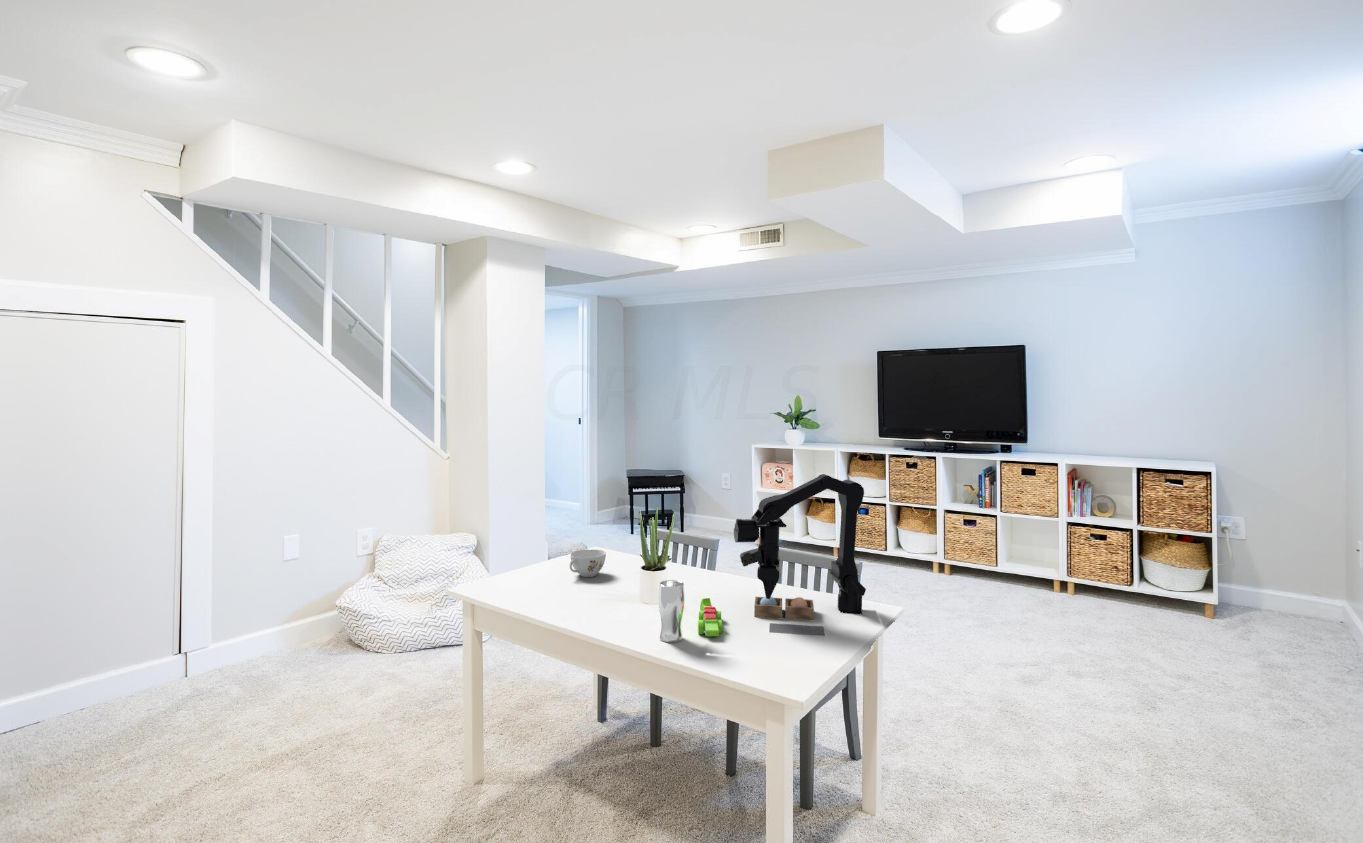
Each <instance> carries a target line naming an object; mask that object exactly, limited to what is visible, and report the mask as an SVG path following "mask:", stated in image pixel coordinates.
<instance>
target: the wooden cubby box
mask: <svg viewBox="0 0 1363 843" xmlns="http://www.w3.org/2000/svg"><path fill="white" fill-rule="evenodd" d="M793 599H794V598H787V597H786V598H785V600H784V602H785V607H784V609H785V610H784V611H785V619H786V620H801V621H814V620H815V619H814V618H815V615H814V614H815V607H814V599H806V598H803V599H804V600H805V601H806V602H807V605H808V608H807V607H791V606H790V605H791V602H792V600H793Z"/></svg>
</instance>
